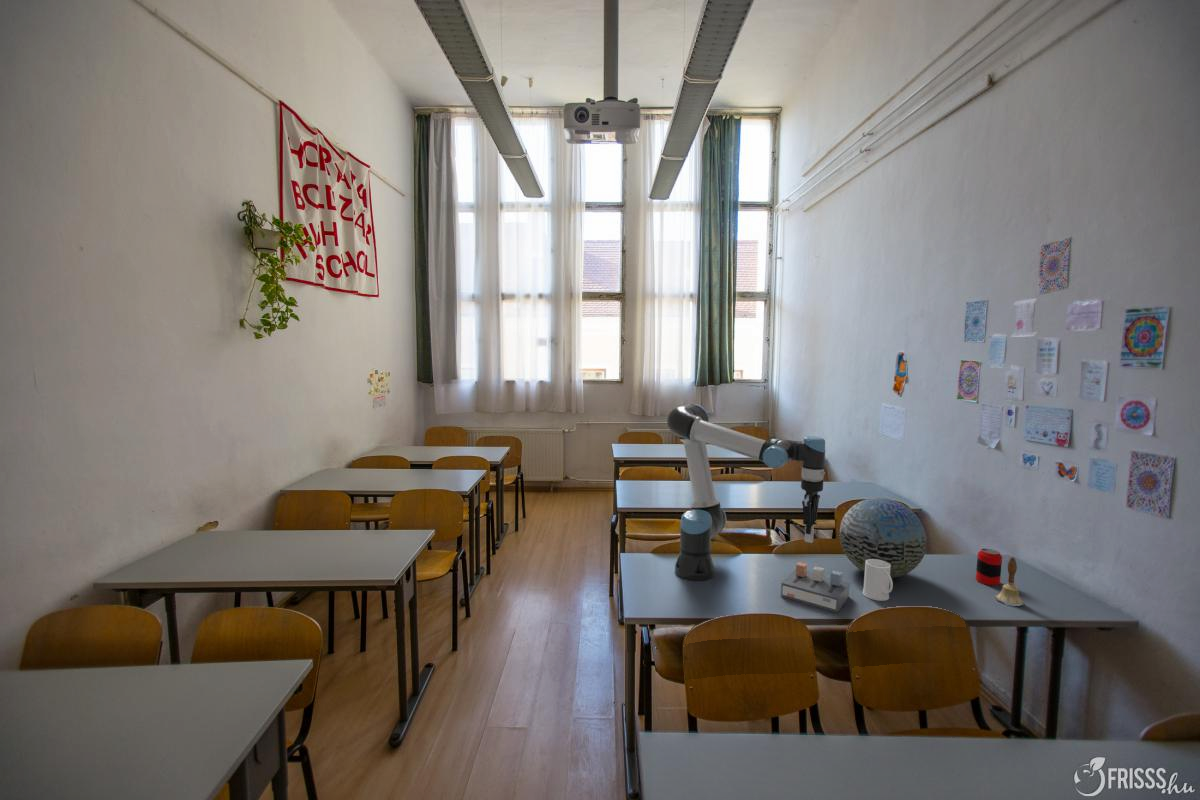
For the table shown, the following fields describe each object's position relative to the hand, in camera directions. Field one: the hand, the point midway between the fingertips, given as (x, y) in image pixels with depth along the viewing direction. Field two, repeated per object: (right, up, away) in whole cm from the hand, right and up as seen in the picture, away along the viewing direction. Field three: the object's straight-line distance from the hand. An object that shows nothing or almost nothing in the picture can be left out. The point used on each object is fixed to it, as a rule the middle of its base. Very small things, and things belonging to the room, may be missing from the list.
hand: (808, 541), depth 207 cm
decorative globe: (+31, -16, +11) cm, 37 cm away
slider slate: (+6, -12, -10) cm, 17 cm away
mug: (+21, -18, -9) cm, 29 cm away
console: (-1, -17, -9) cm, 19 cm away
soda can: (+70, -17, +6) cm, 72 cm away
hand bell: (+67, -19, -10) cm, 70 cm away
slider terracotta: (-4, -11, -3) cm, 12 cm away
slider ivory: (+1, -12, -7) cm, 14 cm away
